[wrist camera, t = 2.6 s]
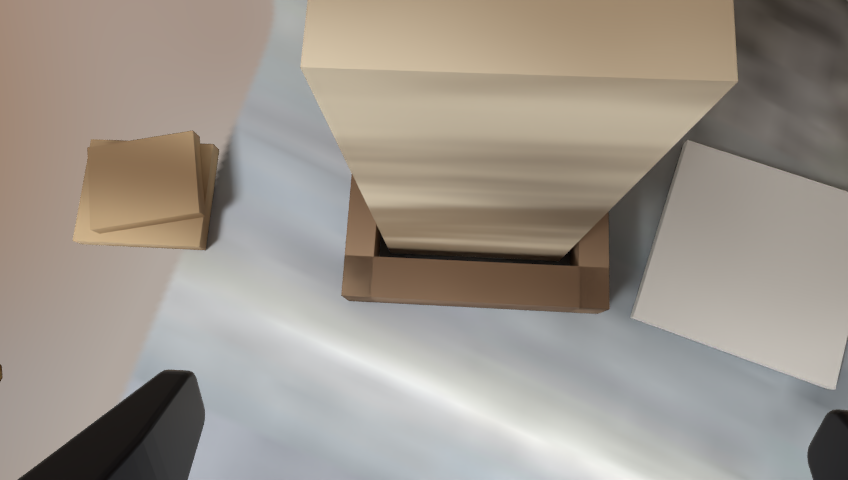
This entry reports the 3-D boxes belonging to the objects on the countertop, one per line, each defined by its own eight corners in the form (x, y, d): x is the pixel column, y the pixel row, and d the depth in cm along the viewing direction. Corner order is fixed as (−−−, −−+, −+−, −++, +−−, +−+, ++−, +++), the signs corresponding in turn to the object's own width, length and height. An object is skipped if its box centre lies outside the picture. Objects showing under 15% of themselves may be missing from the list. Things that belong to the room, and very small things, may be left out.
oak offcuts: (207, 250, 23) (194, 243, 22) (82, 244, 23) (62, 237, 22) (222, 143, 24) (210, 131, 22) (101, 138, 24) (83, 126, 23)
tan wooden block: (558, 261, 22) (737, 81, 8) (390, 253, 22) (300, 67, 9) (559, 170, 23) (725, -130, 9) (396, 163, 23) (322, -137, 9)
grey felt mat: (827, 388, 21) (835, 389, 20) (630, 317, 22) (633, 316, 21) (871, 205, 22) (879, 201, 22) (683, 143, 23) (687, 139, 22)
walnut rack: (597, 313, 22) (609, 309, 20) (348, 300, 22) (341, 295, 20) (596, 125, 23) (607, 107, 22) (364, 117, 24) (358, 99, 22)
